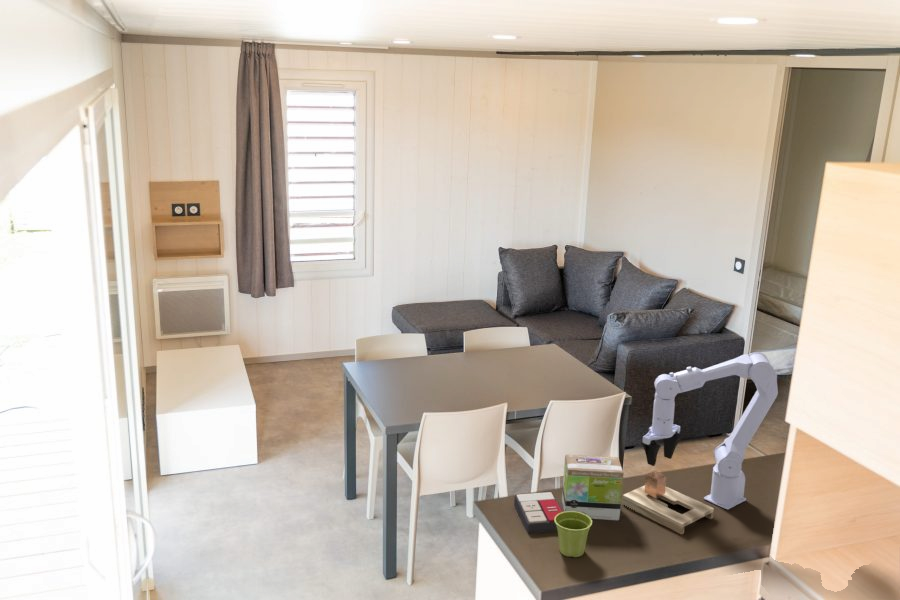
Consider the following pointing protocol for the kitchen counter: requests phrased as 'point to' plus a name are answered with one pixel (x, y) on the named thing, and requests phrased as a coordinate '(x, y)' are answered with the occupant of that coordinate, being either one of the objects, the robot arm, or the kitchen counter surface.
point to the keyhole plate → (661, 511)
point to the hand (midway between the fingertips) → (659, 461)
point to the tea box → (593, 486)
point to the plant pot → (572, 532)
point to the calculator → (537, 511)
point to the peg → (655, 484)
